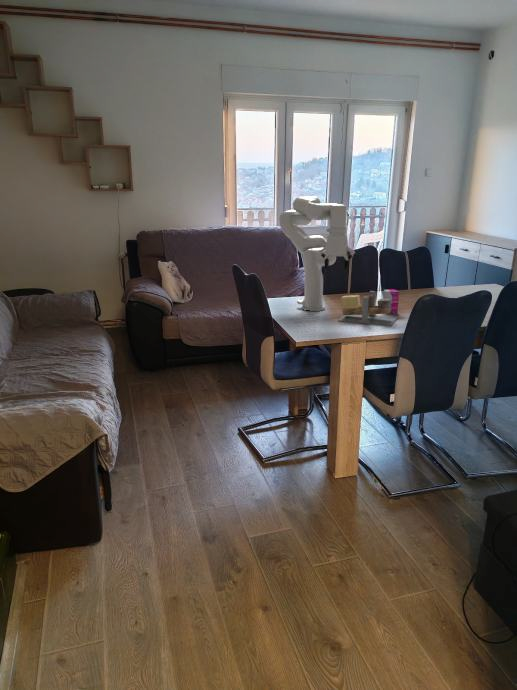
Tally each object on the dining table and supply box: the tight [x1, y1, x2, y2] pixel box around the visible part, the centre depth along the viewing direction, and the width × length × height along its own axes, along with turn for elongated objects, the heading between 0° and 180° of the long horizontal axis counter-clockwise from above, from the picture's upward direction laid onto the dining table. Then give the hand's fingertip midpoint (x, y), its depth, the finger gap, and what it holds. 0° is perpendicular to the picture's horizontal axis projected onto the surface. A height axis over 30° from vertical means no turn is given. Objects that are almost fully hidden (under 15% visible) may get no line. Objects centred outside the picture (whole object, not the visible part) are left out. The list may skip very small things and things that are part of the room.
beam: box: [342, 295, 391, 316], centre depth 245 cm, size 22×6×8 cm, turn 66°
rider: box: [340, 294, 361, 313], centre depth 248 cm, size 8×4×7 cm, turn 66°
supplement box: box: [382, 288, 400, 315], centre depth 258 cm, size 6×6×12 cm
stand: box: [337, 290, 398, 327], centre depth 245 cm, size 25×17×13 cm
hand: (336, 268), depth 247 cm, fingers open, 9 cm apart
